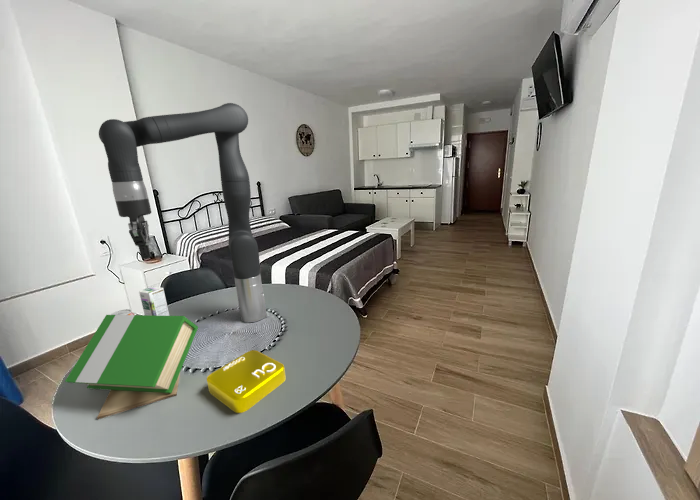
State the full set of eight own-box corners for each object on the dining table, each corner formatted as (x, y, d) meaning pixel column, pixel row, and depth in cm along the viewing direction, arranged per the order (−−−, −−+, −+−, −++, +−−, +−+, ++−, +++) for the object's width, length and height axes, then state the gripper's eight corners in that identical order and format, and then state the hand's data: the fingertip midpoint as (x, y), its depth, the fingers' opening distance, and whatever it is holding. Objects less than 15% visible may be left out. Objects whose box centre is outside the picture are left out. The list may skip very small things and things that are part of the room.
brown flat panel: (181, 364, 86) (181, 362, 86) (176, 395, 74) (175, 393, 74) (115, 382, 80) (114, 380, 80) (97, 419, 67) (97, 417, 67)
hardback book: (152, 386, 68) (64, 381, 71) (171, 393, 74) (89, 388, 77) (183, 315, 79) (106, 314, 82) (198, 327, 84) (125, 325, 88)
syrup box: (146, 327, 109) (137, 291, 105) (161, 319, 114) (153, 285, 110) (157, 329, 107) (148, 293, 103) (171, 322, 112) (163, 286, 108)
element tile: (254, 360, 87) (252, 346, 86) (289, 379, 78) (287, 364, 77) (206, 391, 75) (202, 375, 74) (240, 417, 67) (237, 400, 65)
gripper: (143, 198, 77) (158, 261, 81) (151, 196, 88) (164, 250, 93) (108, 201, 74) (125, 266, 78) (121, 198, 85) (135, 254, 90)
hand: (146, 257), depth 86 cm, fingers closed
